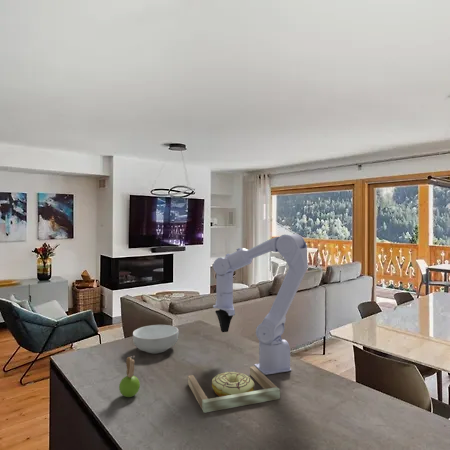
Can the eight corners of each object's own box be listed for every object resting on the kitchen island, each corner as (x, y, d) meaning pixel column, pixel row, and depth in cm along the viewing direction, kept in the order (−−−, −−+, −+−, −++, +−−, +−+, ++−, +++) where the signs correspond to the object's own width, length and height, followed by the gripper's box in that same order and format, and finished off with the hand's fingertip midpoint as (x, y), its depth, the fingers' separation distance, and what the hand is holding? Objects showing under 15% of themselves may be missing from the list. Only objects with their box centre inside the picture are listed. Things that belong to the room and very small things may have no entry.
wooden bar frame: (254, 374, 111) (254, 366, 111) (279, 398, 95) (279, 389, 95) (188, 384, 104) (188, 375, 104) (203, 412, 88) (203, 402, 88)
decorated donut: (240, 407, 92) (240, 391, 92) (203, 394, 98) (203, 380, 98) (261, 389, 101) (261, 375, 101) (226, 379, 108) (226, 366, 108)
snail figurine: (122, 404, 93) (122, 358, 93) (117, 394, 98) (117, 350, 98) (143, 399, 95) (143, 354, 95) (137, 389, 101) (137, 347, 101)
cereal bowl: (142, 341, 142) (142, 323, 142) (183, 343, 140) (183, 325, 140) (125, 357, 125) (124, 337, 125) (171, 359, 123) (171, 339, 123)
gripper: (207, 289, 129) (207, 326, 129) (220, 297, 115) (220, 339, 115) (225, 288, 131) (225, 325, 131) (240, 295, 118) (240, 336, 118)
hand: (224, 331), depth 124 cm, fingers closed
